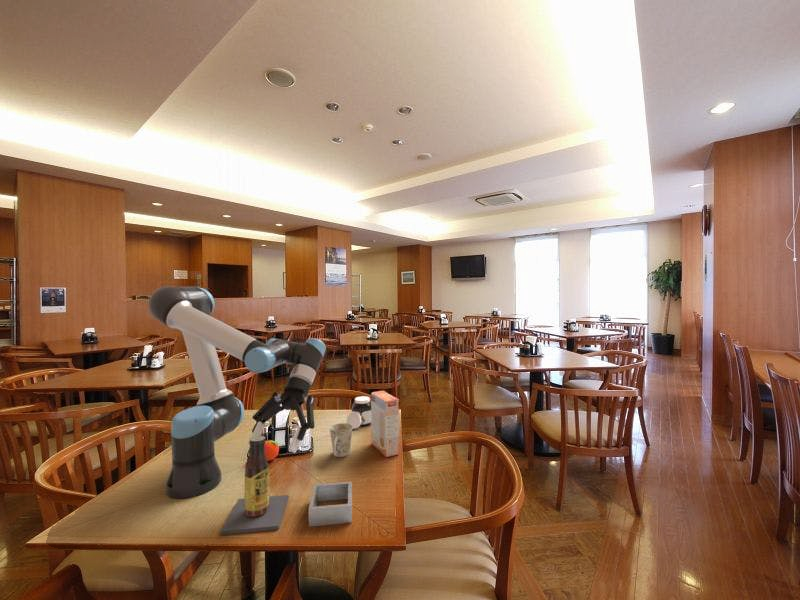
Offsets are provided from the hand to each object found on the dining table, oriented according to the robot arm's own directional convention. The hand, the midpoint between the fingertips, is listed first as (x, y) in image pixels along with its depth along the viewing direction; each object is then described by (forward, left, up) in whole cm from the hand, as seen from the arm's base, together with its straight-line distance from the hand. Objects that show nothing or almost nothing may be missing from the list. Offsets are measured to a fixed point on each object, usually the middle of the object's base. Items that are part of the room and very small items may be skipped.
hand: (271, 448), depth 100 cm
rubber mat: (-3, -4, -16) cm, 17 cm away
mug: (+18, +28, -17) cm, 37 cm away
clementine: (-7, +29, -17) cm, 34 cm away
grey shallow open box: (+17, -5, -16) cm, 24 cm away
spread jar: (+26, +58, -17) cm, 66 cm away
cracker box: (+35, +31, -17) cm, 50 cm away
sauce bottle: (-3, -4, -16) cm, 16 cm away
